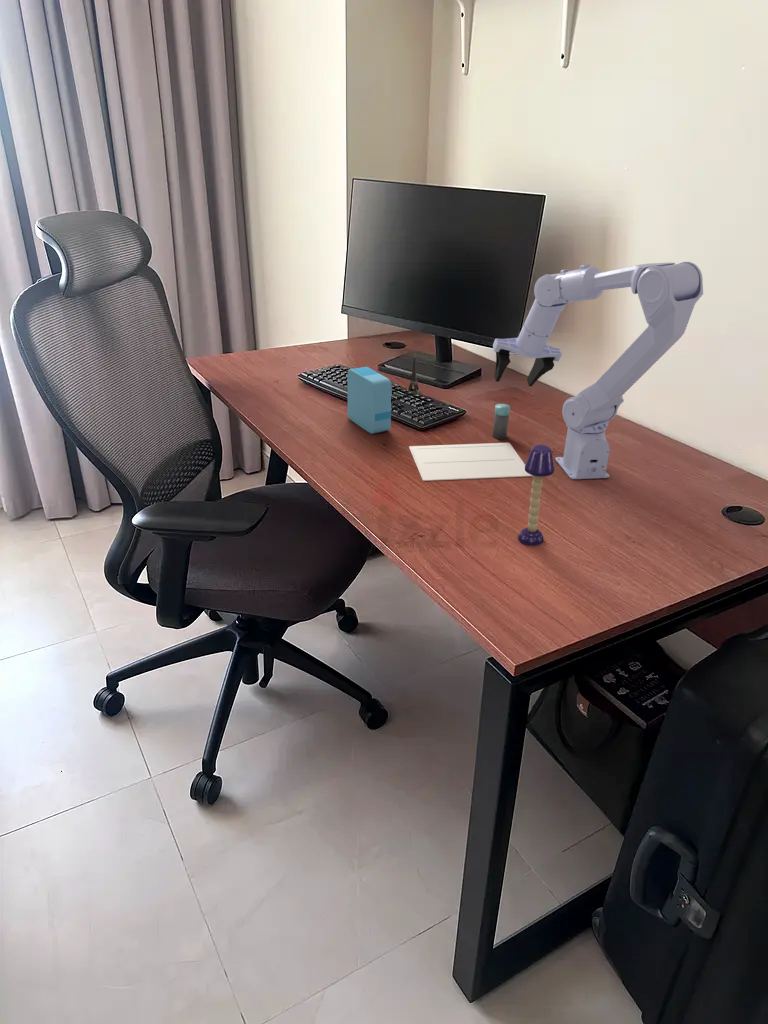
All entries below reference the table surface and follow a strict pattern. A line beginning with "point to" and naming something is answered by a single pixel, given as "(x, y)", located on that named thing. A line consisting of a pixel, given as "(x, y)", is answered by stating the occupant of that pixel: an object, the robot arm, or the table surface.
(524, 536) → the toy lamp
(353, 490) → the table surface
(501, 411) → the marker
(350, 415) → the light blue block
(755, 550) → the table surface
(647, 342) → the robot arm
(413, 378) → the eiffel tower figurine
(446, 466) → the paper
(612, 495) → the table surface
